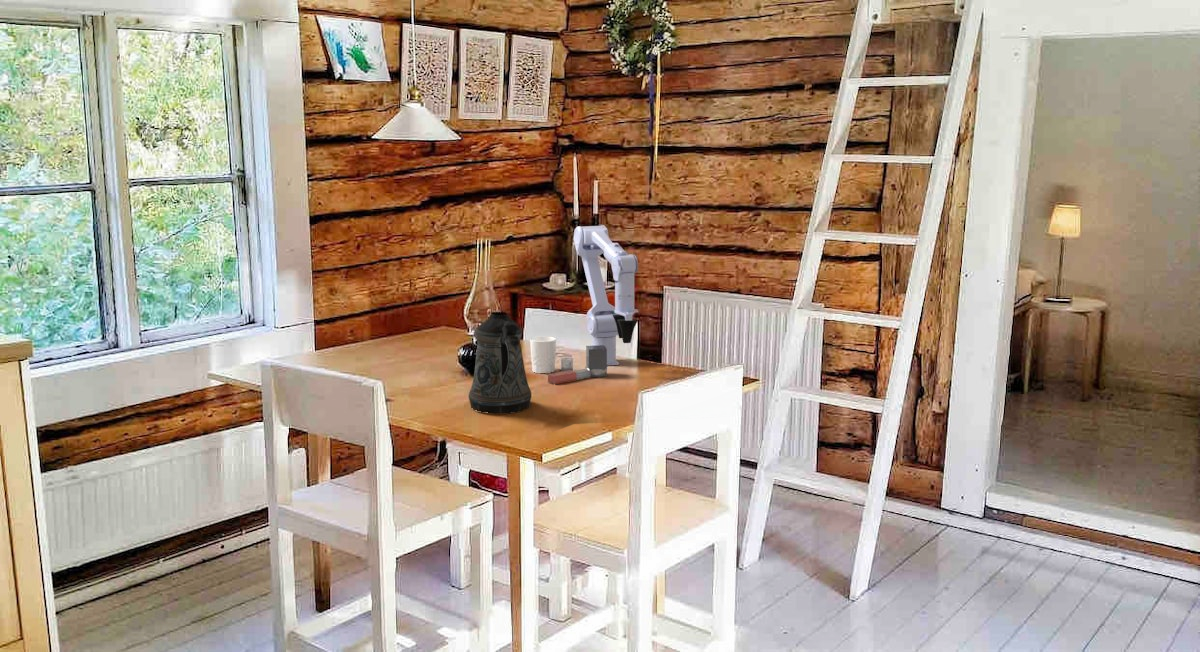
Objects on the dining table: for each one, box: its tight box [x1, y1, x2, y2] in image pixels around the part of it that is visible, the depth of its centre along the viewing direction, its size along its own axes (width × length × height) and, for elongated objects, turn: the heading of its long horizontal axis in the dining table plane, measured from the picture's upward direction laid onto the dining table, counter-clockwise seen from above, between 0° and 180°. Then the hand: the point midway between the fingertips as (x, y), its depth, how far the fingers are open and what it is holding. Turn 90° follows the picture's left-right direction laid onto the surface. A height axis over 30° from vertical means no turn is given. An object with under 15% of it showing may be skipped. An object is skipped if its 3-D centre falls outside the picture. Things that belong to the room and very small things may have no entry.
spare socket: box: [560, 357, 574, 372], centre depth 302 cm, size 4×4×4 cm
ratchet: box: [547, 366, 608, 385], centre depth 293 cm, size 20×6×6 cm, turn 129°
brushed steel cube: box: [585, 345, 608, 370], centre depth 297 cm, size 5×5×6 cm
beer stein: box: [468, 311, 532, 414], centre depth 260 cm, size 16×19×25 cm
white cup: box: [529, 336, 557, 374], centre depth 303 cm, size 8×8×10 cm
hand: (624, 340), depth 299 cm, fingers open, 7 cm apart
